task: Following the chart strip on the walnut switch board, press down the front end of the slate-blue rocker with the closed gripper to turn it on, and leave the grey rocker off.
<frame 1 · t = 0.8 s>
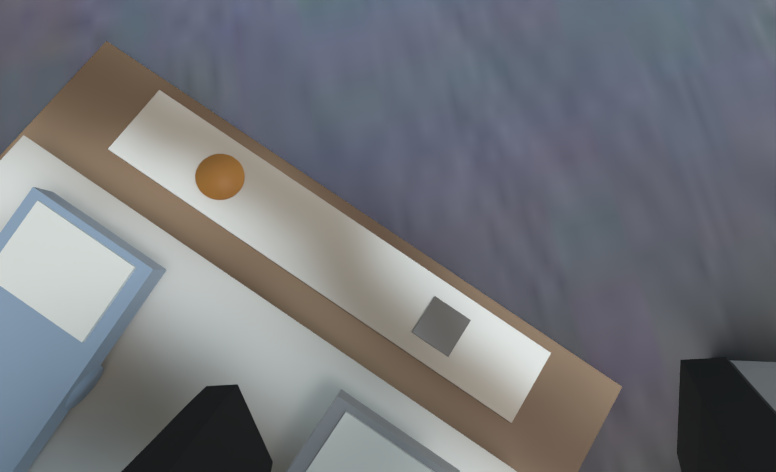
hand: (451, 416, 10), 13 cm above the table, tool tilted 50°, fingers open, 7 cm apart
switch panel: (236, 389, 23), on the table
blue rocker: (22, 348, 17), point 5 cm above the table, hinge at -12.0°
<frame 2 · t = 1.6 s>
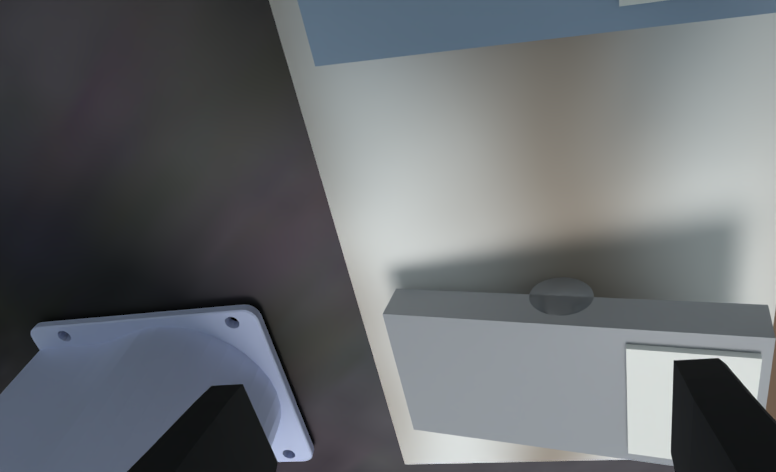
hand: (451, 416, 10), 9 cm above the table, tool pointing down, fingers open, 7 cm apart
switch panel: (608, 80, 16), on the table
grey rocker: (565, 368, 15), point 5 cm above the table, hinge at -12.0°
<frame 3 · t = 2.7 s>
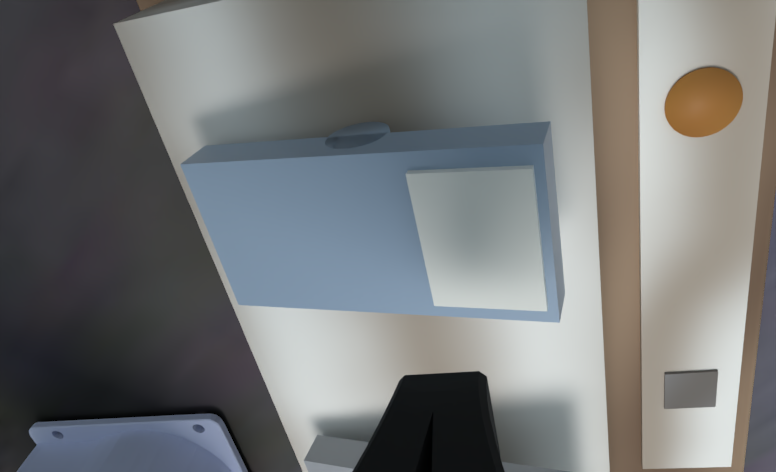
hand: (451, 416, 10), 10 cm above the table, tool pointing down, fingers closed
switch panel: (488, 262, 20), on the table
blue rocker: (374, 221, 14), point 5 cm above the table, hinge at -12.0°
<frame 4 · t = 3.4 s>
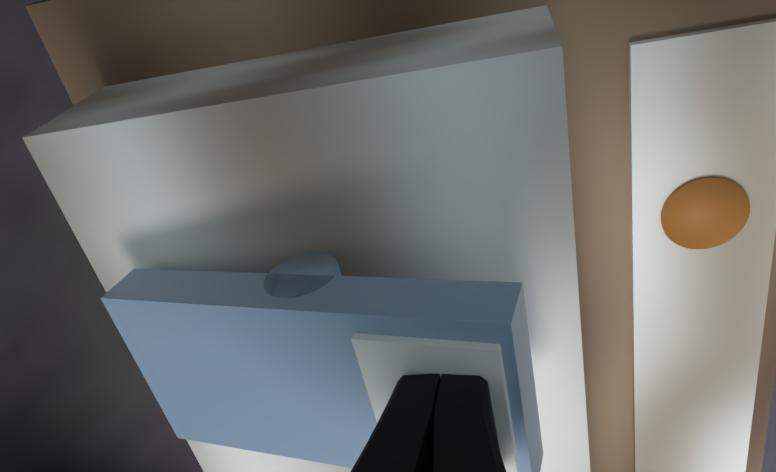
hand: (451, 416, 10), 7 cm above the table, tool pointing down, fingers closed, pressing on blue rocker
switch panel: (467, 359, 19), on the table
blue rocker: (324, 364, 12), point 5 cm above the table, hinge at -12.0°, touching gripper
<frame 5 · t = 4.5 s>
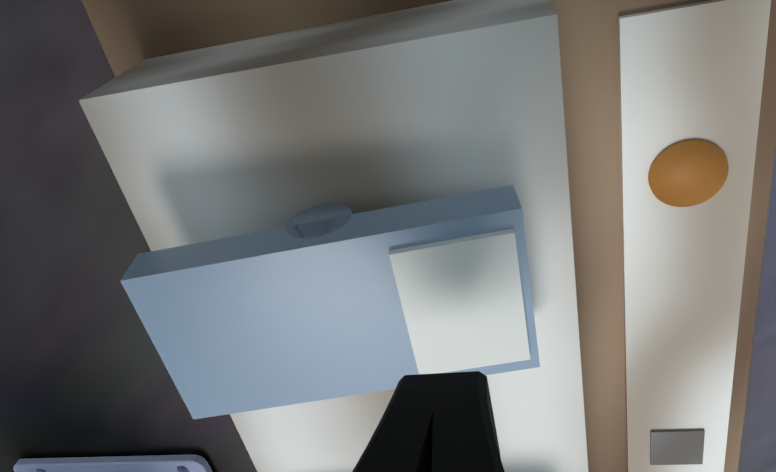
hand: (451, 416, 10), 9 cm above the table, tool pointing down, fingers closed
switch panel: (472, 317, 20), on the table
blue rocker: (341, 303, 14), point 5 cm above the table, hinge at 8.0°
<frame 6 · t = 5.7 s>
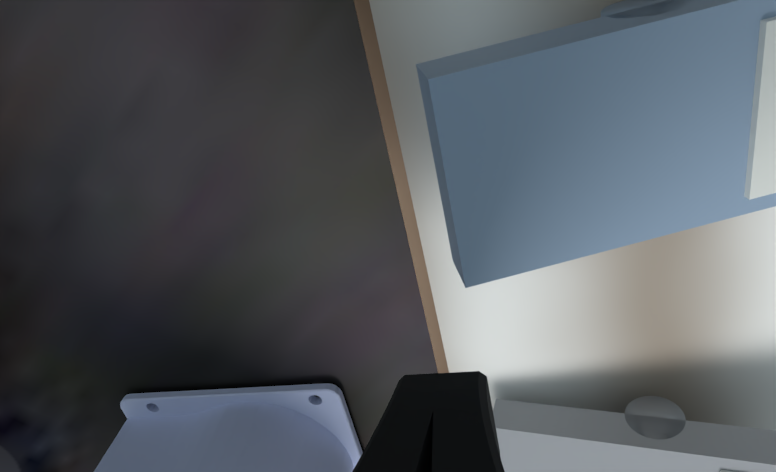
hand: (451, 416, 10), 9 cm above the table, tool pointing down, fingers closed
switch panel: (685, 204, 18), on the table
blue rocker: (650, 120, 11), point 5 cm above the table, hinge at 16.8°, touching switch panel
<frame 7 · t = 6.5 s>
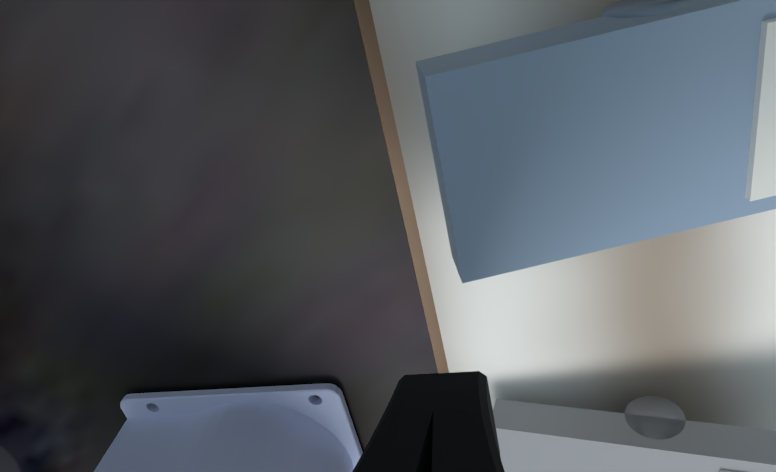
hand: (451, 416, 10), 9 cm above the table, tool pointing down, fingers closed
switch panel: (685, 204, 18), on the table
blue rocker: (651, 120, 11), point 5 cm above the table, hinge at 14.4°
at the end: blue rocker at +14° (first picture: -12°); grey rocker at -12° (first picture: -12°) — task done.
